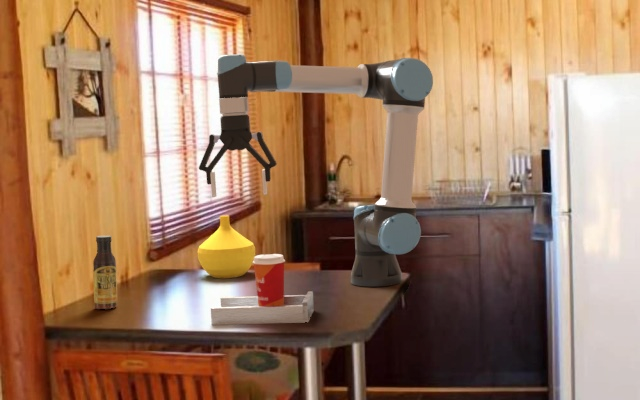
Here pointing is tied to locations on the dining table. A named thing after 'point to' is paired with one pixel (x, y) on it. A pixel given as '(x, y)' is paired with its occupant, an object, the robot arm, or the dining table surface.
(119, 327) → the dining table surface
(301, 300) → the channel
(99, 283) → the sauce bottle
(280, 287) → the coffee cup
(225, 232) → the vase
